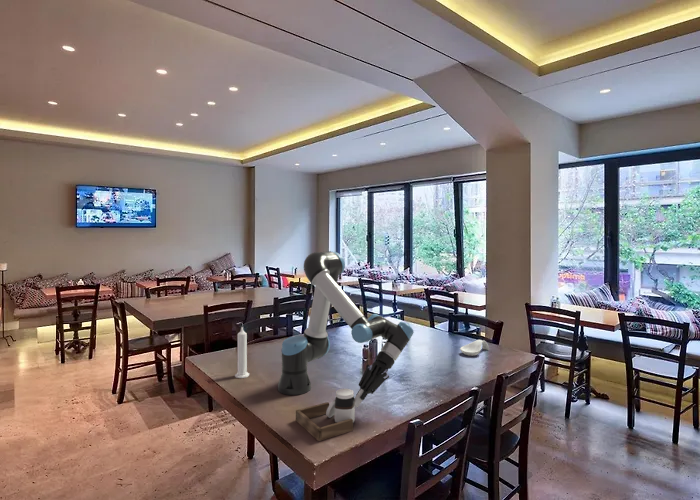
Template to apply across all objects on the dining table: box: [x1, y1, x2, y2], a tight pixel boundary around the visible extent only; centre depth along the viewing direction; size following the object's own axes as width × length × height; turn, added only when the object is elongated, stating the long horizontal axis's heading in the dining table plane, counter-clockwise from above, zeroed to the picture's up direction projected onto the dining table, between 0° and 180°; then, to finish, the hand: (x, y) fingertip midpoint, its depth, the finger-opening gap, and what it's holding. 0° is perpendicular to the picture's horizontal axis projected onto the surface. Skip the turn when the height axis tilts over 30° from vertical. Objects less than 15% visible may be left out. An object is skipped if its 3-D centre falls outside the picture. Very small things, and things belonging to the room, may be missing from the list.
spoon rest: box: [459, 339, 490, 357], centre depth 243 cm, size 24×12×7 cm, turn 132°
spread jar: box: [325, 388, 356, 424], centre depth 152 cm, size 12×11×12 cm
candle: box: [234, 326, 250, 379], centre depth 200 cm, size 7×7×25 cm
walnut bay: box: [295, 401, 354, 442], centre depth 148 cm, size 18×14×4 cm
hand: (354, 405), depth 155 cm, fingers closed
